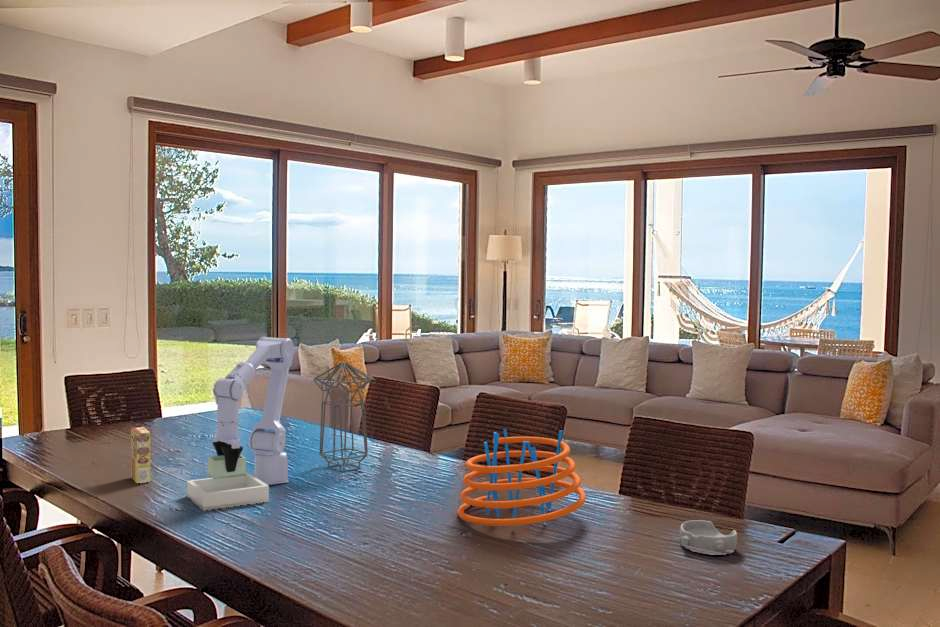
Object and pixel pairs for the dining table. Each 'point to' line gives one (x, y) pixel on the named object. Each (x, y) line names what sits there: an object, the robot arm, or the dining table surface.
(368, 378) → the geometric lantern
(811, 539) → the dining table surface
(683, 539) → the dish
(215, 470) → the green crate
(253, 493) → the white crate
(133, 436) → the candy box
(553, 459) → the toy basket
